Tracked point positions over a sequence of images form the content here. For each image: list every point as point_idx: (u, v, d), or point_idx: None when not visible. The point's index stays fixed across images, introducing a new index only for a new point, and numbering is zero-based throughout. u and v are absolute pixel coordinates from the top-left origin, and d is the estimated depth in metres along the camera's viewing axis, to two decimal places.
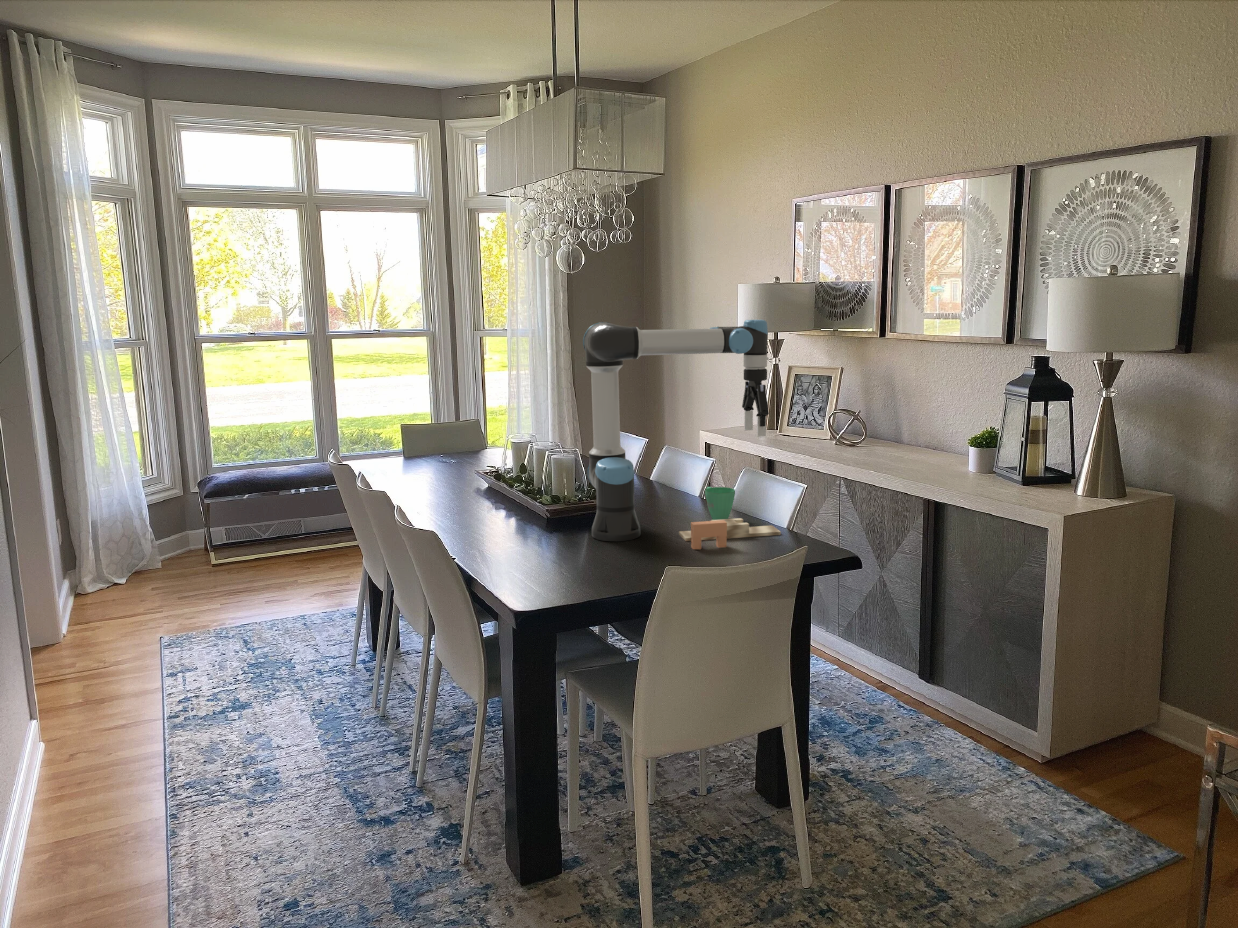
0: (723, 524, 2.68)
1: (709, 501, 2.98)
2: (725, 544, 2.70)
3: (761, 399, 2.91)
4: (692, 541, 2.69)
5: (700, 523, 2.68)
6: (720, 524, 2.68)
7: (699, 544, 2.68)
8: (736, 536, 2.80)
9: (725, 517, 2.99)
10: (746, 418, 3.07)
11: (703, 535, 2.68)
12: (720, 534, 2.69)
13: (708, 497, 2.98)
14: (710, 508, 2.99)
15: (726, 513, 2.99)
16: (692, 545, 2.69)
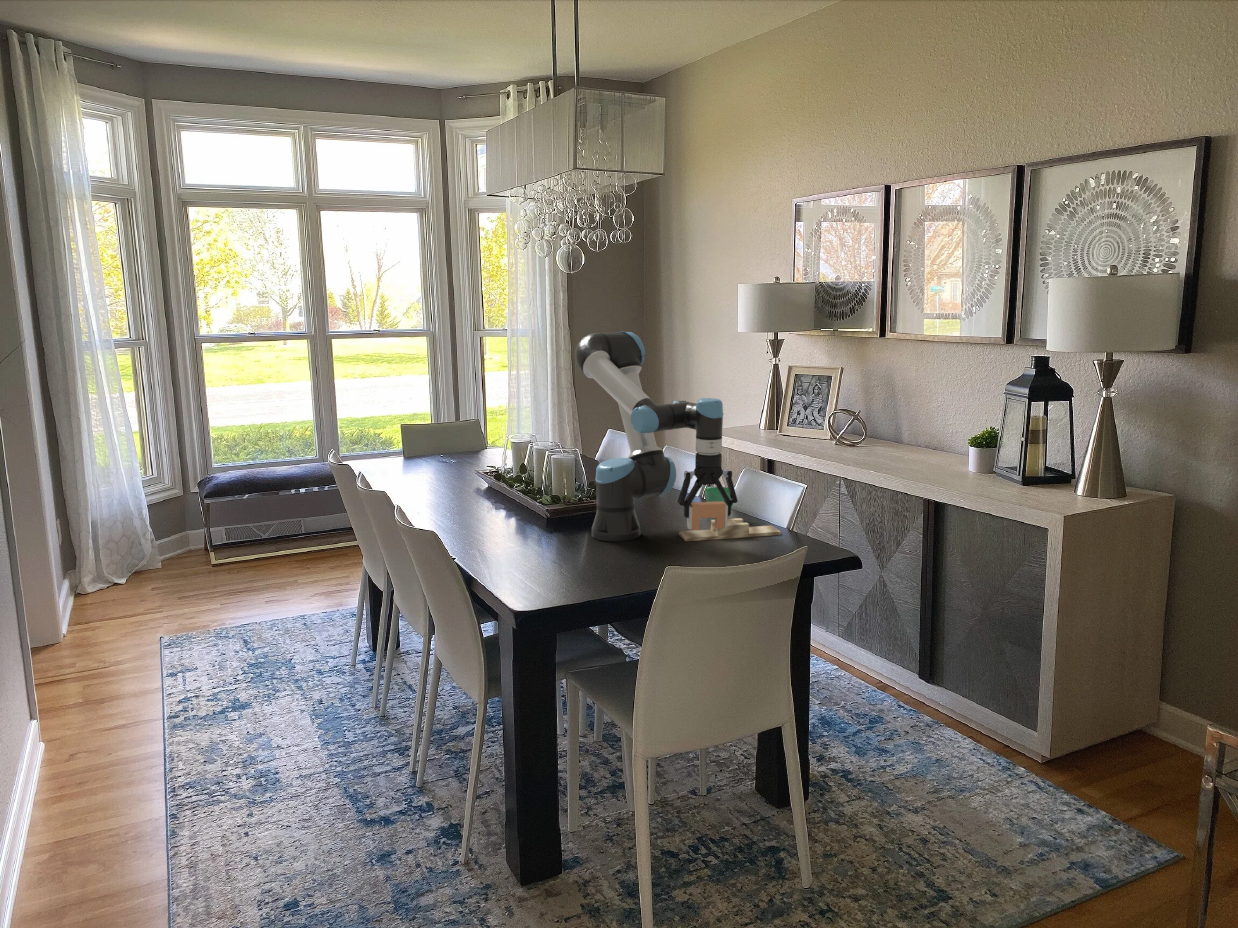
0: (722, 505, 2.68)
1: (709, 501, 2.98)
2: (723, 525, 2.69)
3: (682, 487, 2.66)
4: None
5: (699, 504, 2.67)
6: (719, 505, 2.67)
7: (697, 525, 2.68)
8: (736, 536, 2.80)
9: None
10: None
11: (701, 516, 2.67)
12: (718, 515, 2.68)
13: (708, 497, 2.98)
14: None
15: None
16: None
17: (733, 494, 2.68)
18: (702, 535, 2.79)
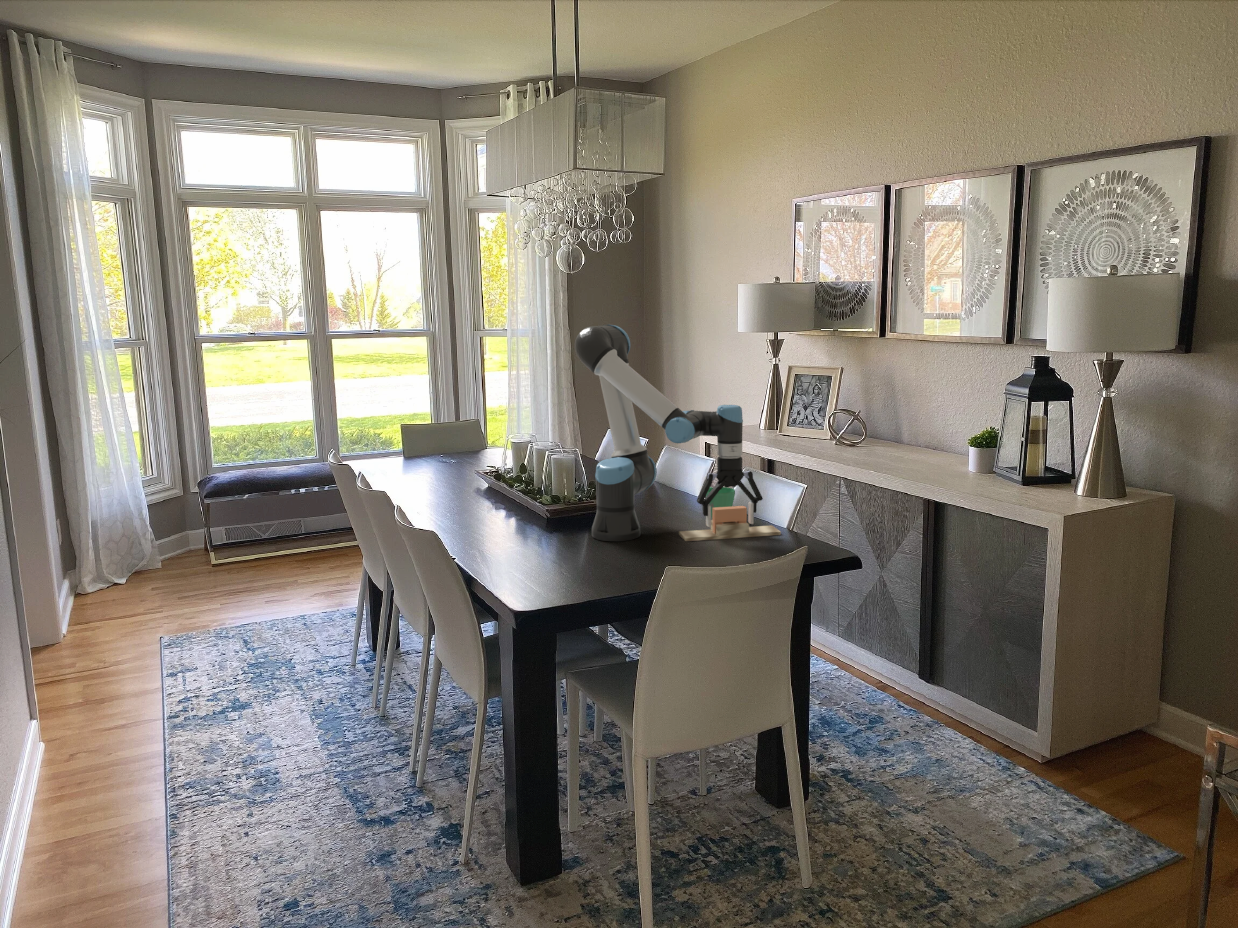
0: (743, 509, 2.81)
1: None
2: None
3: (703, 487, 2.80)
4: (713, 525, 2.82)
5: (721, 508, 2.81)
6: (740, 509, 2.81)
7: None
8: (736, 536, 2.80)
9: None
10: (748, 509, 2.84)
11: (724, 520, 2.81)
12: (740, 519, 2.82)
13: None
14: None
15: None
16: (713, 529, 2.82)
17: (757, 493, 2.81)
18: (702, 535, 2.79)
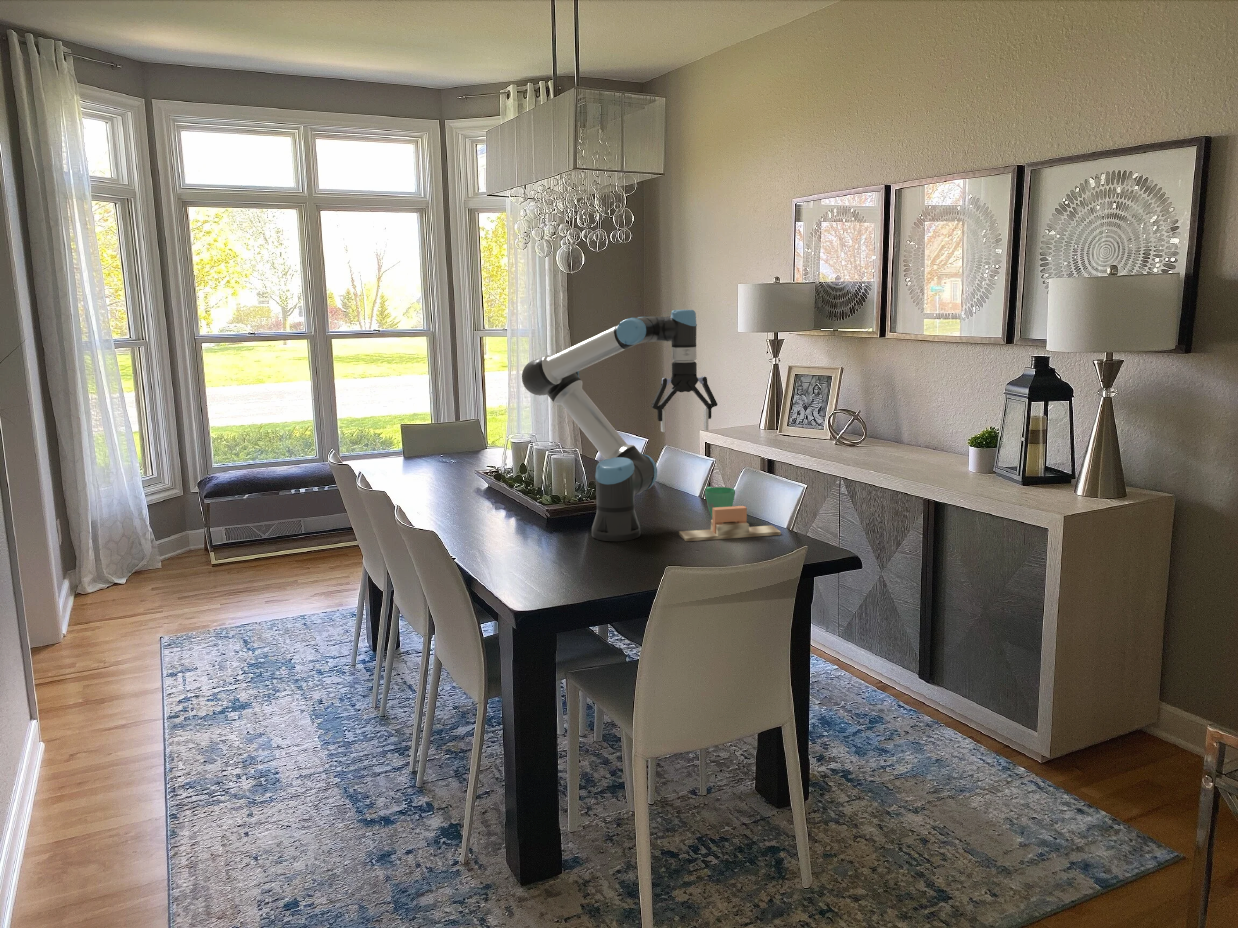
0: (743, 509, 2.81)
1: (709, 501, 2.98)
2: None
3: (657, 392, 2.80)
4: (713, 525, 2.82)
5: (721, 508, 2.81)
6: (740, 509, 2.81)
7: None
8: (736, 536, 2.80)
9: None
10: (704, 416, 2.85)
11: (724, 520, 2.81)
12: (740, 519, 2.82)
13: (708, 497, 2.98)
14: (710, 508, 2.99)
15: None
16: (713, 529, 2.82)
17: (712, 398, 2.82)
18: (702, 535, 2.79)
